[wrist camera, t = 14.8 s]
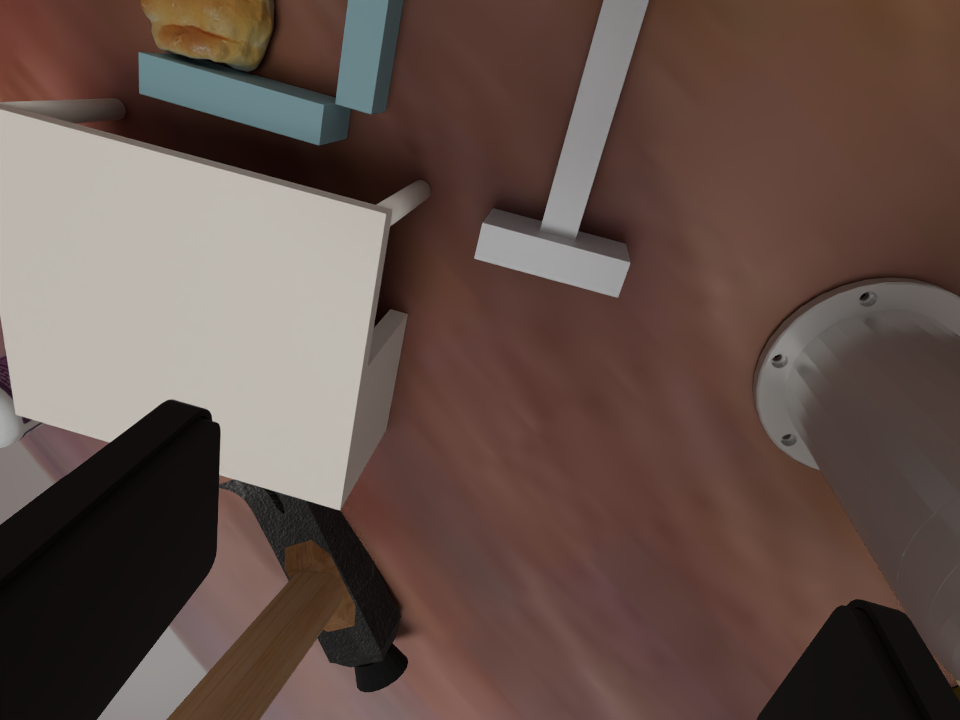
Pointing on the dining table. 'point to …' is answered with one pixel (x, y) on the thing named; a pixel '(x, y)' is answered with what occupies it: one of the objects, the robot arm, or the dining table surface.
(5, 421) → the pill bottle
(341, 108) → the blue-grey long flat part
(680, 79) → the dining table surface
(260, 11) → the pastry
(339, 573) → the hammer
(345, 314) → the desk
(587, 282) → the tee stick
